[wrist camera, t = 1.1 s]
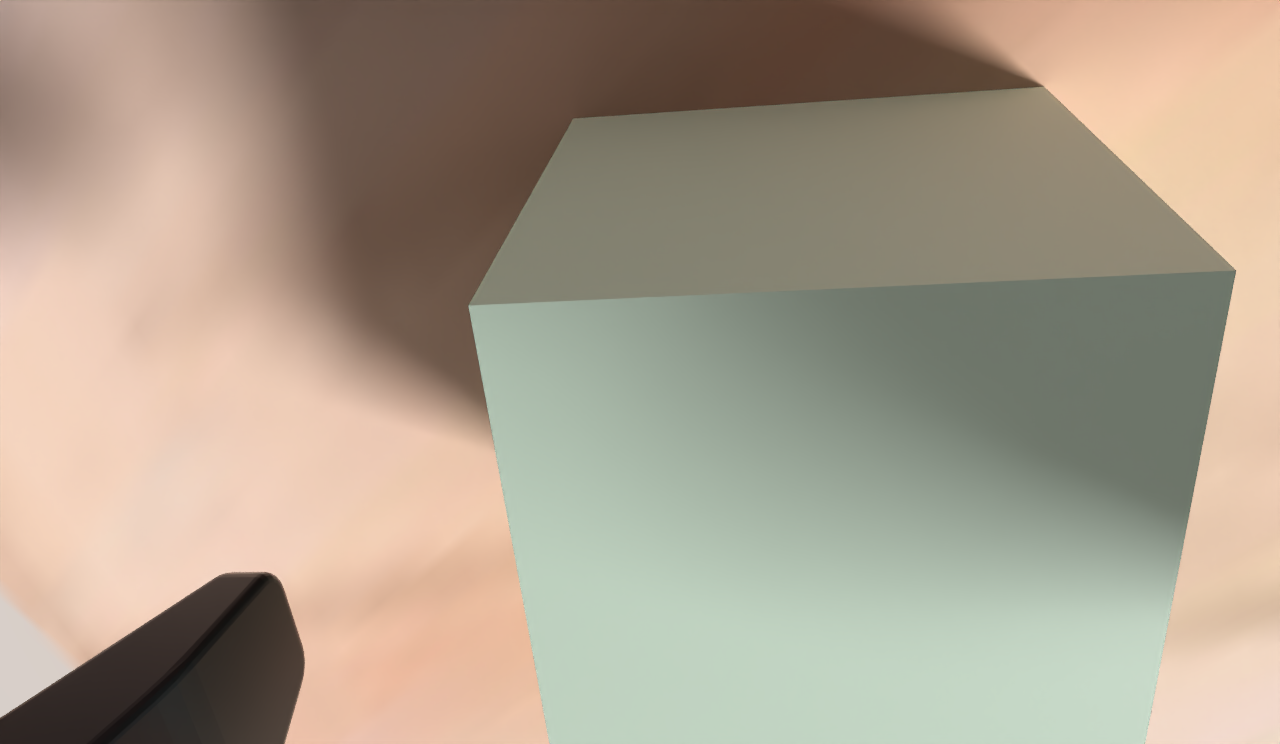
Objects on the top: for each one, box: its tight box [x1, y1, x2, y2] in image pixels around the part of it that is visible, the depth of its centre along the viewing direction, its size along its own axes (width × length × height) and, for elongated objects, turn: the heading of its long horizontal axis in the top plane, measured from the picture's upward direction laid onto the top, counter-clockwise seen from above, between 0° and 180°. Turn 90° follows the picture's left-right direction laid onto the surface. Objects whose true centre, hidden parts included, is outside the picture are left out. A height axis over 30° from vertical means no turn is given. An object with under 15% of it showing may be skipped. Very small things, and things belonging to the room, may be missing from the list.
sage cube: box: [468, 87, 1236, 744], centre depth 10 cm, size 5×5×5 cm
